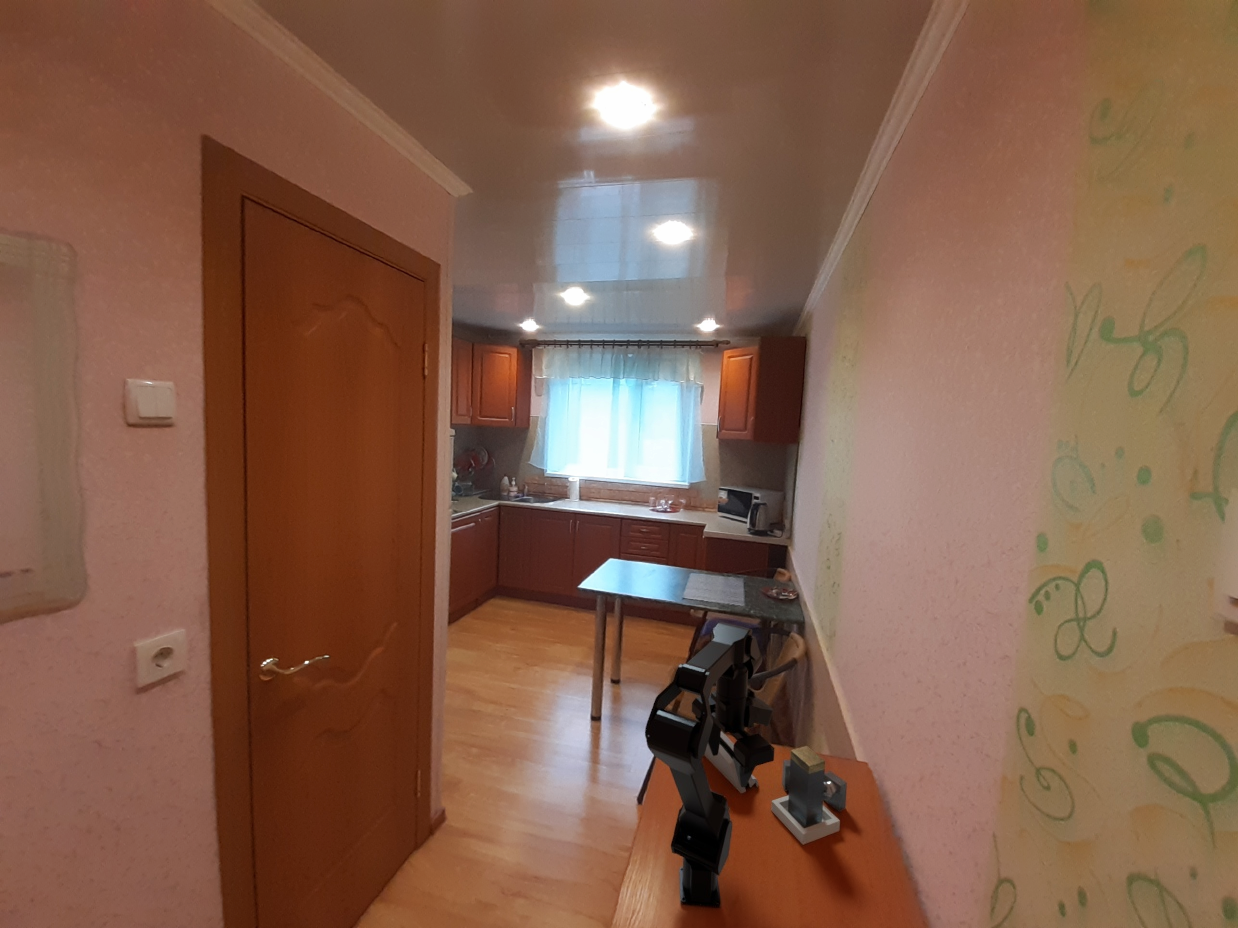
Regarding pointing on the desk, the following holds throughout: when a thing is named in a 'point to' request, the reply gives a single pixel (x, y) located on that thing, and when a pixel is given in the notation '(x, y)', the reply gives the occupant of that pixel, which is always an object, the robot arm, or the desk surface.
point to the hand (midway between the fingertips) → (728, 769)
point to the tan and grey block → (806, 786)
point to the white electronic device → (728, 763)
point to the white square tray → (802, 834)
